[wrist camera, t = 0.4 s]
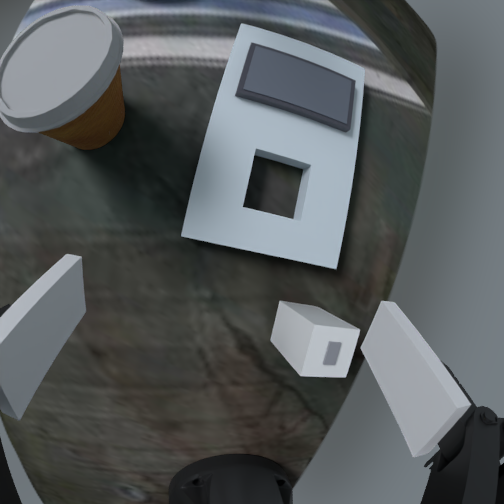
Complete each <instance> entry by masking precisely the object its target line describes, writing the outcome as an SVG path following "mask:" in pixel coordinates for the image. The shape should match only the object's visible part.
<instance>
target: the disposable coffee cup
mask: <svg viewBox="0 0 504 504" xmlns="http://www.w3.org/2000/svg"><path fill="white" fill-rule="evenodd" d="M122 54H123V35H122V33H121V30H120V28H119V26H118V25H117V23H116V22H115V21H114V20H113V19H112V18H110V17H108V16H107V15H106V14H105V13H103V12H102V11H100V10H99V9H97V8H94V7H90V6H69V7H64V8H60V9H57V10H55V11H52V12H50V13H48V14H46V15H44V16H42V17H40V18H39V19H37V20H36V21H34V22H33V23H31V24H30V25H29V26H28V27H26V28H25V29H24V30H23V31H22V32H20V34H19V35H18V36H17V37H16V38H15V39H14V40H13V41H12V42H11V44H10V45H9V46H8V48H7V49H6V51H5V52H4V54H3V56H2V57H1V59H0V117H1V119H2V120H3V121H4V123H5V124H7V125H8V126H9V127H11V128H13V129H15V130H17V131H21V132H28V133H37V132H39V133H41V134H43V135H46V136H49V137H51V138H54V139H57V140H59V141H61V142H64V143H66V144H69V145H72V146H74V147H76V148H79V149H82V150H92V149H97V148H99V147H102V146H104V145H105V144H107V143H108V142H110V141H111V140H112V139H113V138H114V137H115V136H116V135H117V134H118V132H119V131H120V129H121V127H122V125H123V122H124V118H125V107H124V100H123V91H122V83H121V73H120V62H121V58H122Z"/></svg>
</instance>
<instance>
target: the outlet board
mask: <svg viewBox="0 0 504 504" xmlns="http://www.w3.org/2000/svg"><path fill="white" fill-rule="evenodd" d="M251 42H252V43H256V44H259V45H263V46H266V47H270V48H273V49H276V50H279V51H282V52H285V53H288V54H291V55H294V56H297V57H300V58H302V59H305V60H308V61H310V62H313V63H316V64H318V65H321V66H323V67H326V68H328V69H331V70H333V71H335V72H338V73H340V74H342V75H345V76H347V77H349V78H351V79H353V80H356V82H355V93H354V102H353V111H352V120H351V128H350V130H349V131H348V132H343V131H341V130H338V129H335V128H333V127H330V126H328V125H325V124H322V123H320V122H317V121H314V120H311V119H309V118H306V117H303V116H300V115H297V114H294V113H291V112H288V111H285V110H282V109H279V108H275V107H272V106H269V105H265V104H262V103H259V102H255V101H252V100H248V99H244V98H241V97H237V96H235V93H236V90H237V86H238V83H239V80H240V76H241V73H242V69H243V66H244V63H245V60H246V56H247V53H248V50H249V47H250V44H251ZM364 75H365V69H364V68H362V67H360V66H358V65H356V64H354V63H352V62H350V61H347V60H345V59H343V58H341V57H338V56H336V55H334V54H331V53H329V52H327V51H324V50H322V49H319V48H317V47H314V46H312V45H309V44H306V43H304V42H301V41H298V40H295V39H292V38H289V37H286V36H283V35H280V34H277V33H274V32H271V31H268V30H264V29H261V28H257V27H254V26H250V25H246V24H242V23H241V26H240V29H239V31H238V34H237V37H236V40H235V43H234V45H233V48H232V51H231V54H230V57H229V60H228V63H227V66H226V69H225V72H224V75H223V79H222V82H221V85H220V88H219V91H218V95H217V98H216V101H215V104H214V108H213V111H212V115H211V118H210V122H209V125H208V129H207V132H206V136H205V139H204V143H203V147H202V150H201V154H200V158H199V162H198V166H197V170H196V174H195V178H194V182H193V186H192V190H191V194H190V198H189V203H188V207H187V211H186V216H185V220H184V225H183V230H182V234H181V236H182V237H187V238H191V239H196V240H201V241H206V242H210V243H215V244H220V245H225V246H229V247H234V248H239V249H244V250H248V251H253V252H258V253H262V254H267V255H272V256H277V257H281V258H286V259H291V260H296V261H300V262H305V263H310V264H314V265H319V266H324V267H329V268H333V269H336V268H337V263H338V259H339V254H340V249H341V244H342V239H343V234H344V229H345V223H346V218H347V212H348V206H349V201H350V195H351V188H352V182H353V175H354V169H355V161H356V154H357V146H358V138H359V130H360V121H361V111H362V100H363V89H364ZM254 155H256V156H260V157H263V158H267V159H271V160H274V161H278V162H281V163H284V164H288V165H291V166H294V167H298V168H301V169H303V173H302V178H301V183H300V189H299V194H298V199H297V204H296V209H295V214H294V219H290V218H286V217H282V216H278V215H274V214H270V213H266V212H262V211H258V210H254V209H249V208H245V207H243V204H244V199H245V195H246V190H247V186H248V181H249V177H250V172H251V168H252V163H253V159H254Z"/></svg>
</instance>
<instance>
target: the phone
mask: <svg viewBox="0 0 504 504" xmlns="http://www.w3.org/2000/svg"><path fill="white" fill-rule="evenodd" d="M355 82H356V80H353V79H351V78H349V77H347V76H345V75H342V74H340V73H338V72H335V71H333V70H331V69H328V68H326V67H323V66H321V65H318V64H316V63H313V62H310V61H308V60H305V59H302V58H300V57H297V56H294V55H291V54H288V53H285V52H282V51H279V50H276V49H273V48H270V47H266V46H263V45H259V44H256V43H252V42H251V44H250V47H249V50H248V53H247V56H246V60H245V63H244V66H243V69H242V73H241V76H240V80H239V83H238V86H237V90H236V93H235V96H237V97H241V98H244V99H248V100H252V101H255V102H259V103H262V104H265V105H269V106H272V107H275V108H279V109H282V110H285V111H288V112H291V113H294V114H297V115H300V116H303V117H306V118H309V119H311V120H314V121H317V122H320V123H322V124H325V125H328V126H330V127H333V128H335V129H338V130H341V131H343V132H348V131H349V130H350V128H351V120H352V111H353V102H354V93H355Z"/></svg>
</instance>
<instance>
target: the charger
mask: <svg viewBox="0 0 504 504" xmlns="http://www.w3.org/2000/svg"><path fill="white" fill-rule="evenodd" d="M359 333H360V329H358V328H356V327H354V326H353V325H351V324H349V323H347V322H345V321H343V320H341V319H339V318H338V317H336V316H334V315H332V314H330V313H328V312H326V311H325V310H323V309H321V308H319V307H317V306H311V305H304V304H298V303H291V302H285V301H280V302H279V306H278V310H277V315H276V319H275V323H274V327H273V331H272V336H271V340H270V341H271V342H272V343H273V344H274V345H275V347H276V348H277V349H278V350H279V351H280V353H281V354H282V355H283V356H284V357H285V359H286V360H287V361H288V362H289V363H290V364H291V366H292V367H293V368H294V369H295V370H296V372H297V373H298V374H299V375H300V376H311V377H346V376H347V373H348V369H349V366H350V363H351V360H352V357H353V353H354V350H355V347H356V343H357V340H358V336H359Z"/></svg>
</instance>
